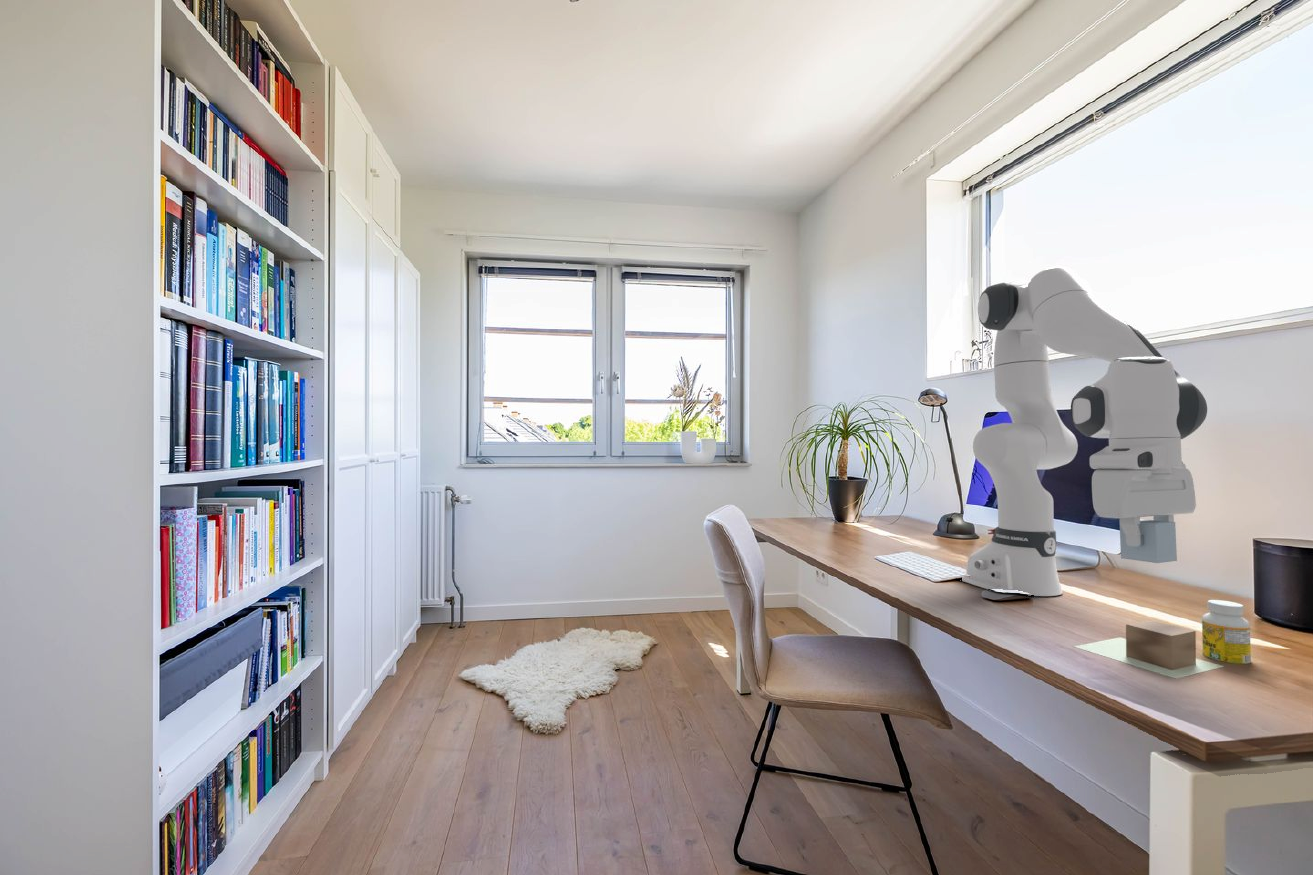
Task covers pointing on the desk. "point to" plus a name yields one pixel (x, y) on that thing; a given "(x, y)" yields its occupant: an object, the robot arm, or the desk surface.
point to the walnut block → (1161, 644)
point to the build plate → (1118, 652)
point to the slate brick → (1152, 542)
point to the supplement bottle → (1226, 633)
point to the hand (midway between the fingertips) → (1147, 544)
